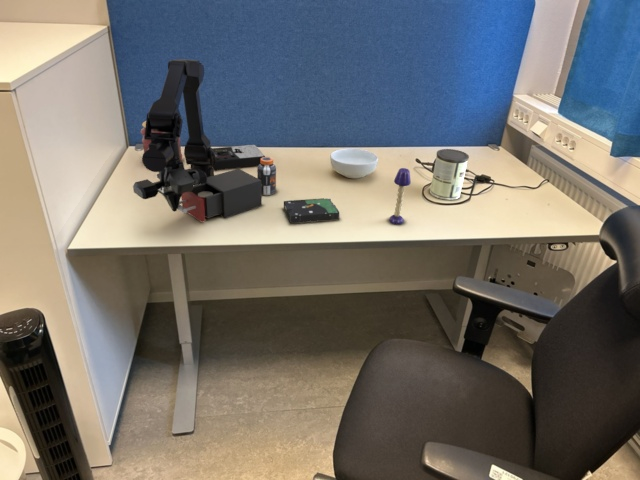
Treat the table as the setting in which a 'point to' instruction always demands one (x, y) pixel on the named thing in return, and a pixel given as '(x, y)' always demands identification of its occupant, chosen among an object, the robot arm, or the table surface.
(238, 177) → the drawer cabinet
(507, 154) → the table surface
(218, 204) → the pod drawer
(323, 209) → the disk drive
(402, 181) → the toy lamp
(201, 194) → the brown short cylinder
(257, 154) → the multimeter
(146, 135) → the robot arm
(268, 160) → the pill bottle
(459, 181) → the coffee can
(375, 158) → the cereal bowl
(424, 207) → the table surface
